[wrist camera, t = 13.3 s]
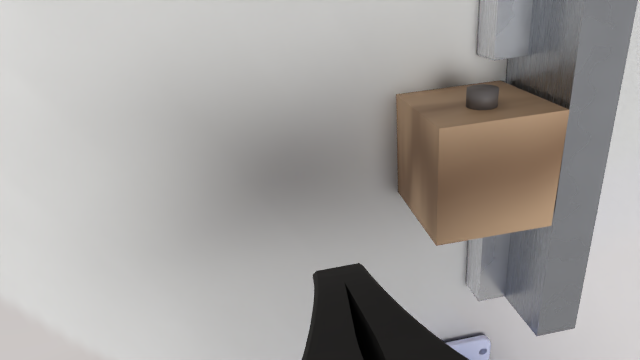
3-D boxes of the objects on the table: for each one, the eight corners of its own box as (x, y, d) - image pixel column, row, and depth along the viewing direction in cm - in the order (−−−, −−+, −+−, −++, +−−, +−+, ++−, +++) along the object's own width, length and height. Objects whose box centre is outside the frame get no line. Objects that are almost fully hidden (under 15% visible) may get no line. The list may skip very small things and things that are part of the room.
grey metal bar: (523, 272, 26) (574, 328, 22) (466, 284, 26) (507, 341, 22) (558, -29, 19) (642, -28, 15) (480, -19, 19) (546, -16, 15)
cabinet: (491, 176, 23) (551, 225, 19) (397, 191, 23) (436, 245, 18) (500, 65, 21) (572, 90, 16) (395, 78, 20) (439, 109, 16)
